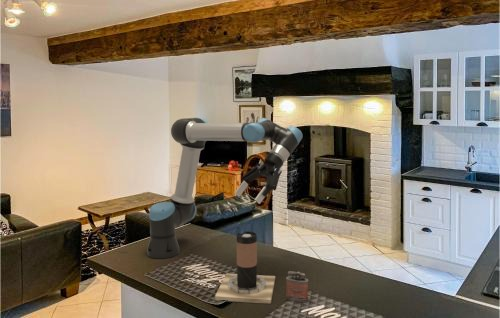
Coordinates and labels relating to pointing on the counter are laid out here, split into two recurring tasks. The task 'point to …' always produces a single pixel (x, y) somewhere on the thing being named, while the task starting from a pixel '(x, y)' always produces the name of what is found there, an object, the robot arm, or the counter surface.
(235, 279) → the dock collar
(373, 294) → the counter surface
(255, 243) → the travel mug
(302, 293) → the lighter
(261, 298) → the dock board
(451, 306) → the counter surface
